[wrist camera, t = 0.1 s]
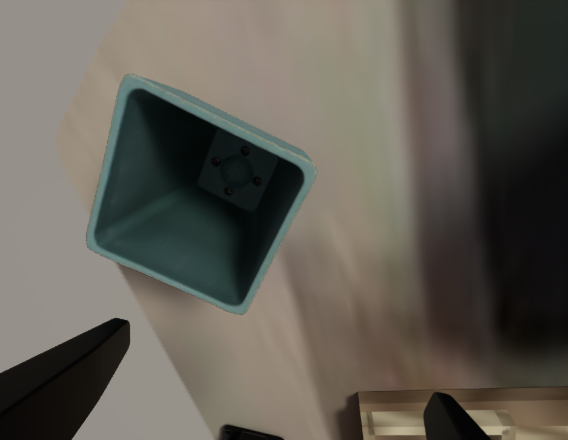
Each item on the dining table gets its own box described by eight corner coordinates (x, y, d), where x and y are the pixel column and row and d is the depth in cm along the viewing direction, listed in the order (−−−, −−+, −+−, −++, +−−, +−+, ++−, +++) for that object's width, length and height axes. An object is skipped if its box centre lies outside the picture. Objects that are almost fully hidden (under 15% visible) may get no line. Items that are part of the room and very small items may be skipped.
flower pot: (322, 141, 21) (322, 166, 12) (270, 244, 24) (242, 320, 16) (203, 81, 20) (120, 68, 12) (166, 196, 24) (81, 247, 15)
